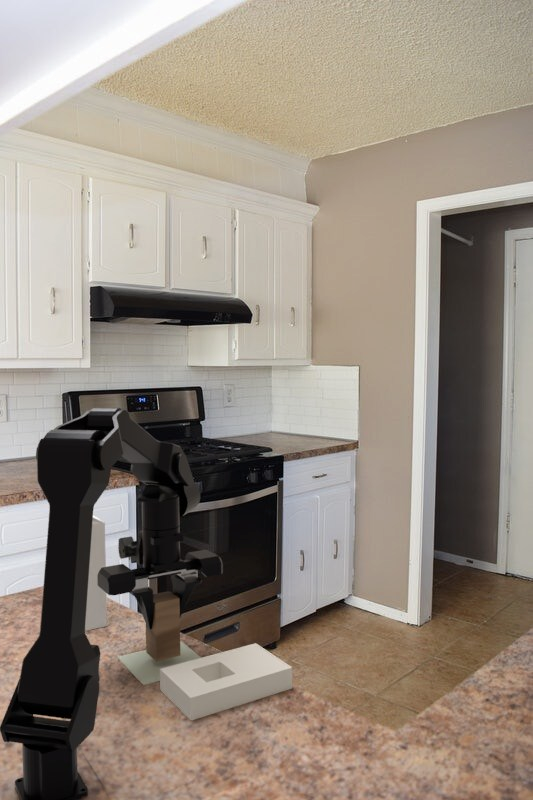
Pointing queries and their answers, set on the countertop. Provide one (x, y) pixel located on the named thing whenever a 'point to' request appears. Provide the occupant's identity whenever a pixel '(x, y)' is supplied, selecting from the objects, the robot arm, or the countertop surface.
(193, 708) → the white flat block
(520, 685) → the countertop surface
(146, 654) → the mat
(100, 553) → the milk
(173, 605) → the plug
